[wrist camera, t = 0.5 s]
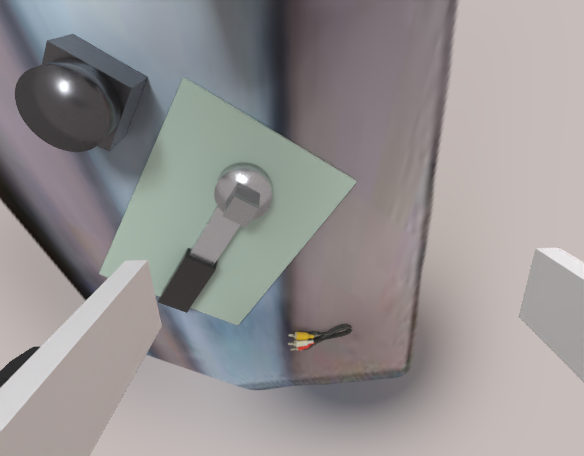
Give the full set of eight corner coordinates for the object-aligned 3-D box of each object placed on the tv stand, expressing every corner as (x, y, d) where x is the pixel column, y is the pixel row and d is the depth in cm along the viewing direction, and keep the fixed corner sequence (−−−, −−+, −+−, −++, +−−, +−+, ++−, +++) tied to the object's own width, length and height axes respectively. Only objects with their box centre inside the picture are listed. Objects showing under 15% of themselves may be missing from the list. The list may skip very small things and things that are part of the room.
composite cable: (351, 320, 52) (354, 333, 50) (351, 340, 55) (353, 353, 53) (286, 325, 53) (286, 339, 51) (289, 345, 55) (289, 359, 53)
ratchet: (232, 152, 35) (226, 174, 31) (282, 179, 37) (282, 204, 33) (154, 289, 46) (142, 318, 42) (196, 305, 48) (188, 334, 44)
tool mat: (184, 76, 31) (182, 77, 31) (356, 180, 38) (356, 182, 38) (100, 271, 45) (98, 273, 45) (238, 323, 51) (237, 325, 51)
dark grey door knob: (73, 34, 29) (22, 46, 24) (147, 77, 31) (117, 98, 26) (57, 100, 32) (8, 125, 27) (125, 135, 34) (94, 165, 29)
